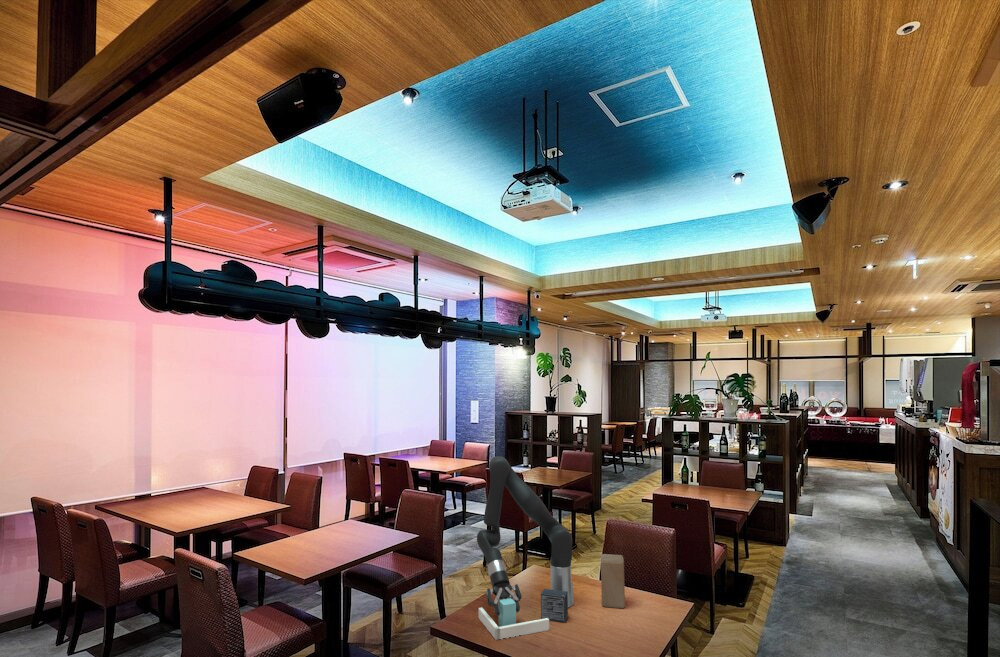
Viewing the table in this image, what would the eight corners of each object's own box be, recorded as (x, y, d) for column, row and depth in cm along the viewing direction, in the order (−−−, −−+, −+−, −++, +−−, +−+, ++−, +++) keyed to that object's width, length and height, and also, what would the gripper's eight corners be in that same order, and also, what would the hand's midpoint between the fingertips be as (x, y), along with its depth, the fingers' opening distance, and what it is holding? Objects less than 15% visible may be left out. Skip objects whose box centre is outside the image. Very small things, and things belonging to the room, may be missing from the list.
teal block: (510, 623, 218) (510, 597, 219) (516, 629, 213) (516, 603, 214) (498, 625, 216) (498, 599, 217) (503, 631, 211) (503, 605, 212)
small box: (568, 616, 224) (568, 590, 225) (565, 623, 218) (565, 596, 219) (544, 613, 228) (544, 587, 229) (540, 619, 222) (540, 593, 223)
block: (625, 609, 231) (623, 561, 233) (601, 607, 233) (600, 560, 235) (624, 600, 241) (623, 554, 243) (602, 598, 243) (601, 553, 245)
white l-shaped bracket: (527, 609, 232) (527, 599, 232) (549, 630, 212) (549, 619, 213) (478, 617, 223) (478, 608, 224) (496, 640, 204) (496, 629, 204)
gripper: (484, 571, 220) (494, 611, 209) (515, 567, 226) (527, 606, 214) (480, 580, 225) (489, 620, 213) (511, 576, 230) (522, 614, 218)
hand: (508, 613), depth 213 cm, fingers open, 8 cm apart
